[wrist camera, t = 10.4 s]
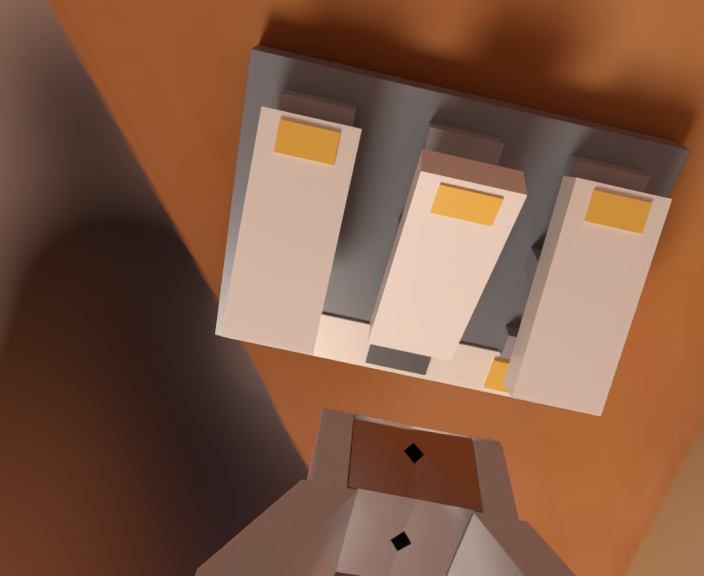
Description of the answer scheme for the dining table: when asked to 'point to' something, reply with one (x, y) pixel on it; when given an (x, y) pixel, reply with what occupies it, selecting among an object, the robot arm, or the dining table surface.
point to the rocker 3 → (584, 294)
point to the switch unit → (394, 185)
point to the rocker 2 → (444, 252)
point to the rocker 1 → (289, 229)
